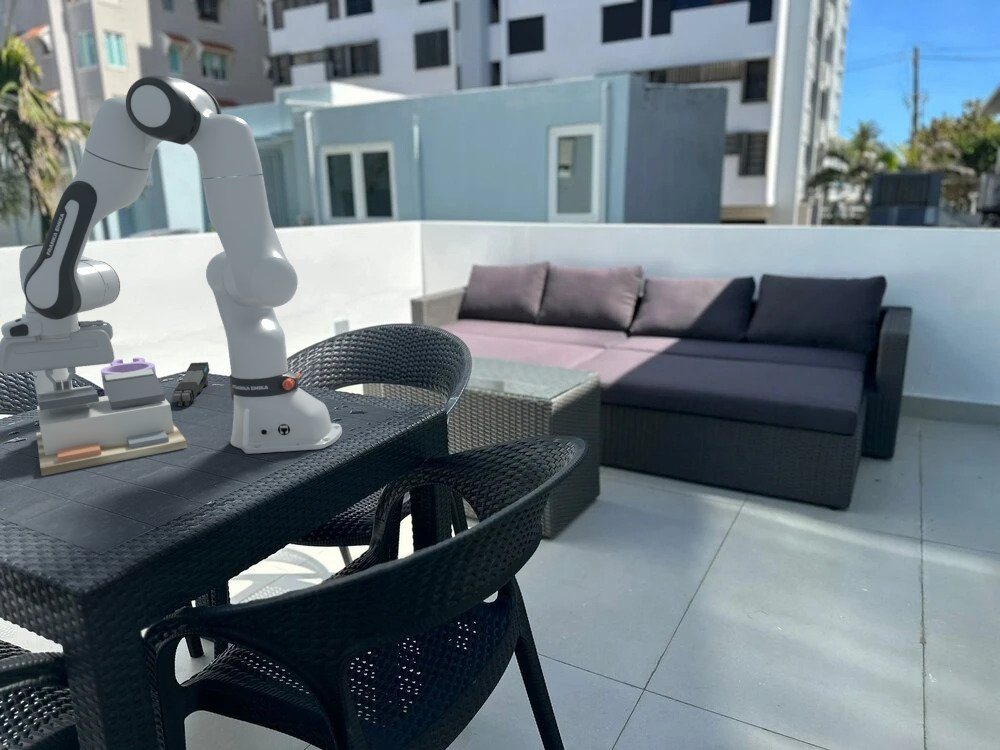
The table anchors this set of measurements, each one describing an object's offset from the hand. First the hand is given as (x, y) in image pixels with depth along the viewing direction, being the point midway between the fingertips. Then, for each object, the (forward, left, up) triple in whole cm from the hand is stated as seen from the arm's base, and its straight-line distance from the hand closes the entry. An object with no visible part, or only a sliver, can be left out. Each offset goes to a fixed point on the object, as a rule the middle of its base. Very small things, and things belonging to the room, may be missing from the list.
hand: (62, 389), depth 146 cm
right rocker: (-13, -3, -1) cm, 14 cm away
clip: (+9, -38, -11) cm, 41 cm away
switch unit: (-10, +3, -11) cm, 15 cm away
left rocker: (-4, +4, -1) cm, 5 cm away
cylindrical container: (+12, -14, -11) cm, 22 cm away
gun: (-11, -33, -11) cm, 37 cm away
